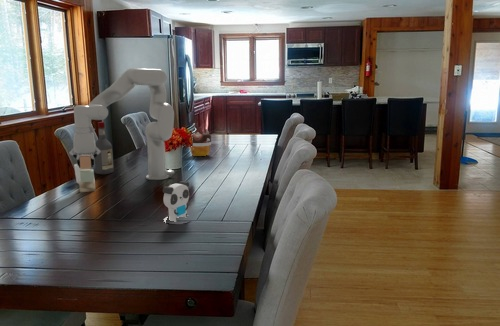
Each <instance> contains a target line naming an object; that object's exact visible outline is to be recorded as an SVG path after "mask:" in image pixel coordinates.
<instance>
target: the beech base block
mask: <svg viewBox="0 0 500 326" xmlns="http://www.w3.org/2000/svg"><path fill="white" fill-rule="evenodd" d="M78 186H79V193H86V192H87V193H88V192H95V191H96V180H95V177H94V181H93V182H81V179H80V181H79V184H78Z"/></svg>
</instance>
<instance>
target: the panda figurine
mask: <svg viewBox="0 0 500 326" xmlns="http://www.w3.org/2000/svg"><path fill="white" fill-rule="evenodd" d="M189 186H190V183H189V182H188V181H183V180H181V181H179V183H173V184H170V185H168V186H166V185H165V186H163V187H162V193H164V194H163V199H162V200H163V204H164V206H165V207H167V208H168V209H167V210H168V216H169V220H170V221H174V222H177V218H179V217H185V218H187V216H188V212H187V210H188V208H189V204H188V202H189V198H190V192H189V191H190V190H189ZM168 216H166V217H165V218H163V220H164V221H163V223H164V222H165V223H164V224H166V220H167V218H168Z"/></svg>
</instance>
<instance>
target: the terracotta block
mask: <svg viewBox="0 0 500 326" xmlns="http://www.w3.org/2000/svg"><path fill="white" fill-rule="evenodd" d="M79 158H80V169H93V167H91V155H90V154H80V157H79Z"/></svg>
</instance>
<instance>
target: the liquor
mask: <svg viewBox="0 0 500 326" xmlns="http://www.w3.org/2000/svg"><path fill="white" fill-rule="evenodd" d="M97 127H98V139H97V140H95V144H96V147H97V148H98V149H99V150H100V151H101V152H100V153H99V154H98V155H97V156H96V157H95V158H94V171H95V174H96V175H97V174H98V175H109V174H111V173H114V156H113V145H112V143H111V142H110V141H109V140H108V139H107V138H106V132H105V131H106V129H105V128H106V124H105V121H99V122H97ZM96 152H97V151H95V153H96ZM95 153H93V154H95Z"/></svg>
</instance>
